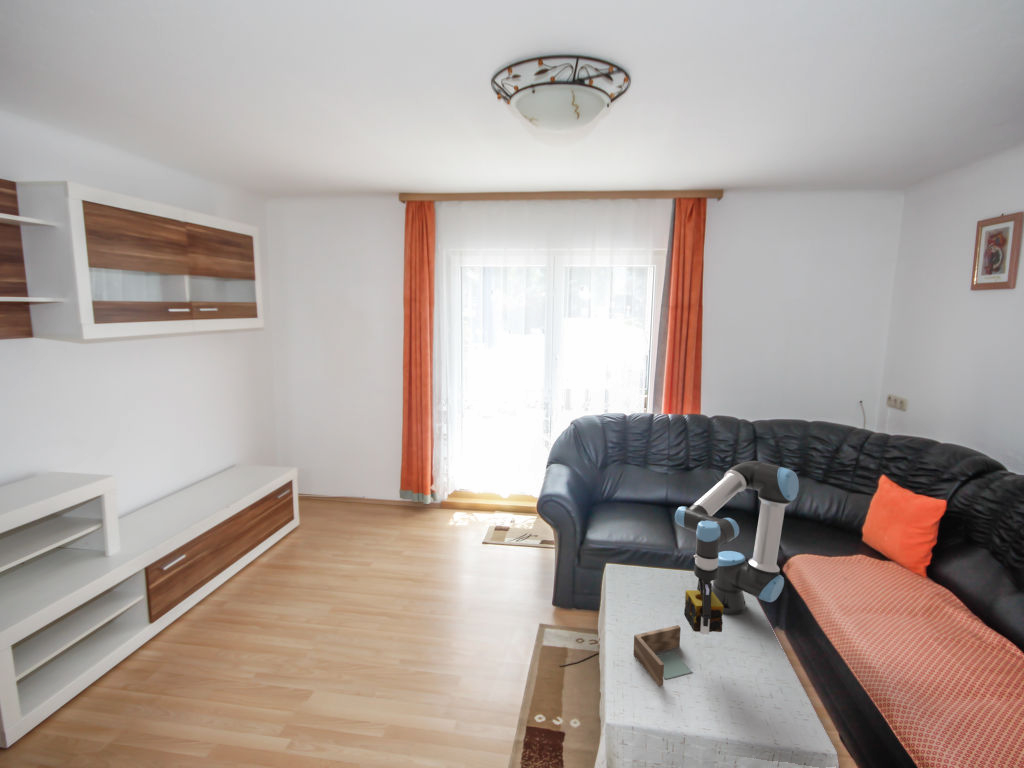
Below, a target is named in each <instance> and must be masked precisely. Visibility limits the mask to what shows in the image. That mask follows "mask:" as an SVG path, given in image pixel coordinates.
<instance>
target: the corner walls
mask: <svg viewBox="0 0 1024 768" xmlns="http://www.w3.org/2000/svg"><path fill="white" fill-rule="evenodd" d="M681 630H682V629H681V626H680V625H673V626H667V627H663V628H660V629H655V630H652V631H647V632H642V633H637V634H634V636H633V652H632V653H633V656H634V657H635V659H636V660H637V661H638V663H640V665H641V666H642V667H643V668H644V670H645V671H646V672H647V673H648V675H649V676H650V677H651V678H652V680H653V681H654V682H655V683H656V684H657V686H658V687H663V686H664V677H663V675H664V664H663V663H662V661H661V660H660V659H659V658H658V657H657V656H658V655H656V654H655V653H659V652H663V651H667V650H668V651H669V650H672V649H675V648H679V647H680V646H681V632H682V631H681Z"/></svg>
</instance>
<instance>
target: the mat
mask: <svg viewBox="0 0 1024 768" xmlns="http://www.w3.org/2000/svg"><path fill="white" fill-rule="evenodd" d="M656 656H657V657H658V658H659V659H660V660H661V661H662V663H663V664H664V675H663V679H665V680H670V679H673V678H677V677H681V676H684V675H688V674H689V675H690V674H693V673H694V672H693V670H692V669H691V668H689V666H688V665H687V664H686V663H685V662H684V661H683V660H682V659H681V658H680V656H679V655H678V654H677V653H676V652H675V651H670V652H667V653H663V654H657V655H656Z"/></svg>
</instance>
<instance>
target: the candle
mask: <svg viewBox="0 0 1024 768" xmlns="http://www.w3.org/2000/svg"><path fill="white" fill-rule="evenodd" d="M702 593H703V592H702ZM684 599H685V603H684V611H683V614H684V617H685V619H686V620H687V623H688V625H690V628H691V629H692V631H693V632H697V633H699V632H700V628H701V617H700V615H701V614H702V596H701V595H700V591H699V590H697V589H696V590H695V589H694V590H692V589H691V590H690V589H689V590H688V589H686V590H685V596H684ZM723 608H724V607H723V604H722V603H721V602H720V601H719V599H718V598H717V597H716V596H715V594H714V593H713V592H711V619H710V624H709V633H712V632H716V633H722V632H723V614H724V613H723Z"/></svg>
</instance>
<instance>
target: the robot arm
mask: <svg viewBox="0 0 1024 768" xmlns="http://www.w3.org/2000/svg"><path fill="white" fill-rule="evenodd" d="M799 486H800V484H799V478H798V475H797V474H796V472H795V471H793V470H791V469H789V468H787V467H786V468H785V467H782V466H778V465H774V464H771V463H770V464H769V463H767V462H766V463H765V462H762V461H757V460H750V461H749V460H748V461H744V462H741V463H738V464H736V465H734V466H732V467H730V468H729V469H728V470H727V471H726V472H725V473H724V475H723V477H722V479H720V481H718V482H717V483H716V484H715V485H713V487H711V488H710V489H709V490H708V491H707V492H706V493H705V494H703V495H702V496H700V498H699V499H697V501H695V502H694V503H693V504H692V505H691V506H689V507H687V506H683V505H682V506H679V507H678V508H677V509H676V510H675V514H674V519H675V520H674V521H675V523H676V525H678V526H679V527H680V526H681V527H682V528H684V529H686V530H689V531H692V532H695V537H696V539H695V554H693V559H694V562H695V564H694V570H693V573H694V576H696V577H697V579H698V580H697V585H696V586H697V587H696V590H699V591H700V595H701V596H702V614H701V615H700V617H701V628H700V634H705V635H709V634H710V632H709V624H710V619H711V592H713V593H714V594H715V596H716V597H717V598H718V599H719V601H720V602H721V603H722V604H723V607H724V608H723V613H722V614H725V615H732V616H735V615H741V614H743V613H744V612H745V611H746V605H747V603H746V598H745V595H744V592H745V593H747V594H748V595H751V596H753V597H755V598H757V599H759V600H761V601H765V602H768V603H773V602H775V601H776V600H777V599H778V597H779V596H780V594H781V593H782V591H783V588H784V585H785V578H784V577H783V576H782V575H781V574H780V571H781V569H780V567H779V565H778V564H777V561H778V556H779V555H778V554H779V549H780V541H781V535H782V530H783V529H782V528H783V523H784V516H785V510H786V507H787V506H788V505H790V504H791V501H794V500H796V498H797V497H798V495H797V494H799V490H800V489H799V488H800V487H799ZM746 489H751V490H754V491H758V494H757V497H758V499H759V500H760V502H761V503H760V507H759V515H758V522H757V528H756V534H755V542H754V549H753V554H752V558H750V559H748V561H746V557H745V555H744V554H743V553H742V552H739V551H738V552H737V551H735V550H734V551H733V550H724V551H720V547H722V546H723V545H725V544H727V543H729V542H732V541H733V540H734V539H736V538H737V537H738V535H739V534H740V527H739V524H738V523H737V521H736V520H735V519H732V518H731V517H723V518H717V517H716V516H713V515H715V514H716V513H717V512H718V511H719V510H720V509H721V508H722V507H723V506H725V504H727V503H729V501H730V500H731V499H732V498H733V497H734V496H735V495H737V494H738V493H739V492H740V493H741V492H743V491H745V490H746ZM702 592H703V593H702Z"/></svg>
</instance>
